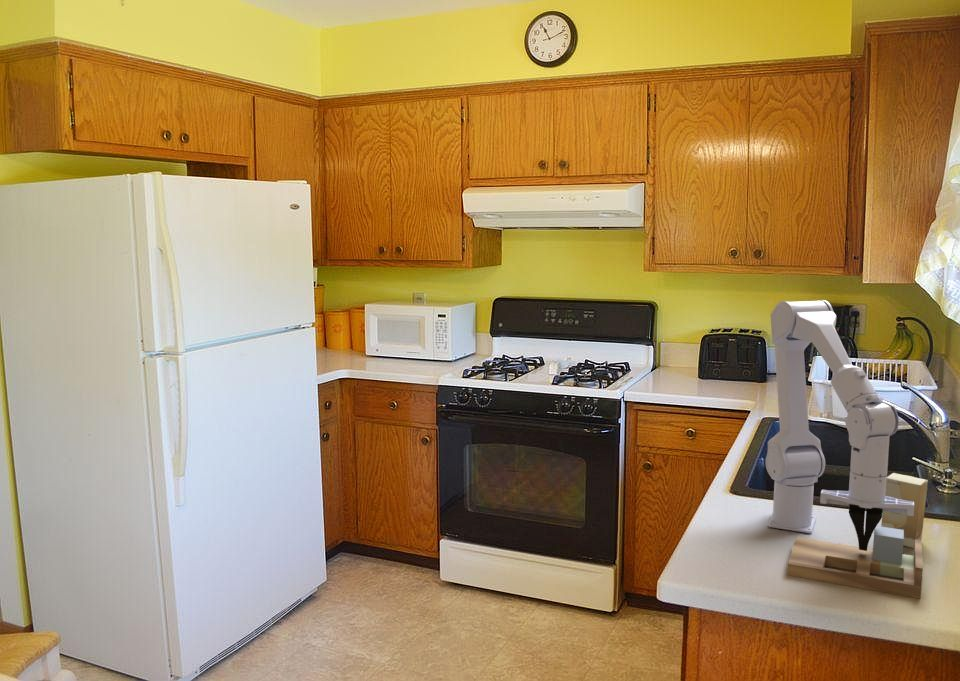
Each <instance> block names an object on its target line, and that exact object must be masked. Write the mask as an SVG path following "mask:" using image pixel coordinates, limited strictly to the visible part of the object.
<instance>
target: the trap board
mask: <svg viewBox="0 0 960 681" xmlns="http://www.w3.org/2000/svg"><path fill="white" fill-rule="evenodd" d="M872 555H873V548H868V547H867V551H864V550H859V546H854V545H848V544H847V545H846V544H842V543H841V544H840V543H835V542H830V541H829V542H828V541H822V540H816V539H812V538H811V539H810V538H804V537H799V536H798V537H795V540H794V543H793V546H792V548H791V552H790V555H789V558H788V561H787V568H786V569H787V570H786V575H787V576H792V577H798V578H803V579H808V580H815V581H821V582H826V583H831V584H838V585H842V586H847V587H855V588H860V589H863V590H864V589H866V590H871V591H876V592H881V593H888V594H893V595H898V596H904V595H905V596H904V597H910V598H915V599H916V598H917V599H920V598H922V596H921V595H922V583H923V572H924V567H923V566H924V565H923V546H922V539H921V540H917V539H915V541H914V548H913V555H911V554H906V553H904V554H902V564H896V563H890V562H884V561H878V560H872Z"/></svg>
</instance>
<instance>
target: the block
mask: <svg viewBox="0 0 960 681" xmlns="http://www.w3.org/2000/svg"><path fill="white" fill-rule="evenodd" d="M903 541H904V530H901V529H894V528H887V527H881V525H877V526H876V528H875V529H874V531H873V543H872V544H873V545H872V549H873V555H872V560H878V561H884V562H890V563H896V564H902V554H903V552H904V545H903Z"/></svg>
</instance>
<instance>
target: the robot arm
mask: <svg viewBox="0 0 960 681" xmlns="http://www.w3.org/2000/svg"><path fill="white" fill-rule="evenodd" d="M836 324H837V314H836V313H835V312H834V308H833V307H832V305H831V303H830V302H829V301H827V300H825V299H819V300H802V301H799V300H797V301H786V300H784V301H783V300H782V301H779V302H777V304H776V305H775V307H774V308H773V310H772V311H771V313H770V328H771V342H772V344H773V345H774V356H775V357H774V358H775V371H776V372H775V373H776V387H777V392H776V393H777V404H778V405H777V406H778V420H779V422H778V423H779V431H778V432H777V433H776V434H774V436H773V437H772V438H770V439H769V440H768V441H767V453H766V455H765V468H766V471H767V474H768V475H769V476H770V479H772V480H774V485H773V488H774V489H773V507H772V515H771V516H770V519H769V520H768V521H769V522H768V523H767V527H769V528H774V529H778V530H779V529H781V530H786V531H794V532H800V533H806V534H813V530H814V528H815V522H816V520H817V516H816V515H813V507H814V505H813V504H814V503H813V502H814V492H815V491H814V487H815V486H814V485H815V483H818V478H820V477H821V476H823V474H824V472H825V468H826V458H825V455H824V453H823V450H822V445H821V439H819V437H817V436H816V435H814V434H813V433H812V432H811V431H810V428H809V413H808V411H809V410H808V400H807V399H808V394H807V381H806V363H805V350H806V348H807V347H808V346H809V345H810V344H811V343H812V344H813V346H814V347H815V348H816V351H818V353H819V355H820V356H821V358H822V359H823V360H824V362H825V364H826V365H827V366H828V368H829V369H830V371H831V372H832V377H831V379H830V385H831V386H832V388H833V390H834V392H835V393H836V395H837V397H838V398H839V400H840V402H841V404H842V406H843V407H844V409H845V412H846V413H847V415H846V416H845V417H844V422H845V427H846V429H847V432H848V442H849V445H850V446H851V451H850V467H849V468H850V470H849V479H848V480H849V483H848V490H829V489H828V490H827V489H821V491H820V500H819V504H823V505H827V504H831V505H839V506H846V507H849V508H848V514H849V518H850V519H851V520H850V521H852V524H853V526H854V530H855V532H856V537H857V541H858V547H859V550H864V551H867V548H868V546H869V543H870V539H871V537H872V535H873V534H874V529H875V528H876V526H878V524H879V523H880V521H882V514H883V511H888V512H895V513H903V514H906V515H908V516H914V502H911V501H905V500H901V499H896V498H892V497H888V496H885V493H886V480H887V477H888V466H889V450H890V448H889V447H890V436H893V435H894V434H896V433H897V431H898V429H899V426H900V417H899V415H898V411H897V410H896V407H895V406H894V404H893V403H891V402H889V401H886V400H885V399H884V397H882V396H879V395H878V393H877V391H876V390H875V387H874V386H873V385H872V383H871V381H870V379H869V378H868V376H867V374H866V372H865V370H864V369H863V368H862V367H860V366H857V365H853V364H852V362H851V359H850V358H849V355H848V353H847V351H846V349H845V347H844V345H843V343H842V341H841V338H840V336H839V334H838V332H837V330H836Z"/></svg>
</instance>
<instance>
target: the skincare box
mask: <svg viewBox="0 0 960 681" xmlns="http://www.w3.org/2000/svg"><path fill="white" fill-rule="evenodd" d="M928 482H929V480H928V479H924V478H919V477H916V476H911V475H906V474H900V473H896V472H892V473H891V474H889V475H887V480H886V493H885V496H888V497H892V498H896V499H901V500H905V501H911V502H914V516H908V515H906V514H903V513H895V512H888V511H882V518H881V523H880V524H881V525H880V527H887V528H894V529H901V530H904V541H903V547H904V546H905V547H908V548H912V549H914V541H915V539H917V540H921V541H922V538H923V531H924V529H923V528H924V520H925V512H926V502H927V494H928V493H927V492H928V485H929V484H928Z"/></svg>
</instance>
